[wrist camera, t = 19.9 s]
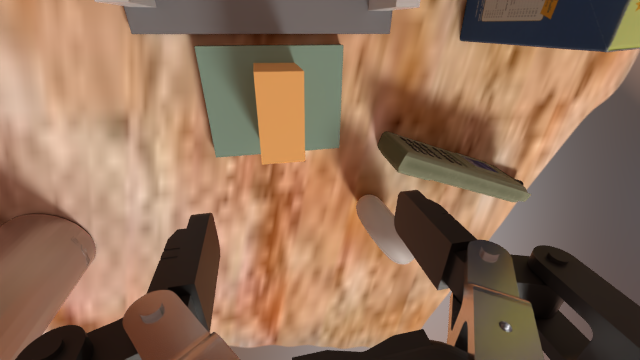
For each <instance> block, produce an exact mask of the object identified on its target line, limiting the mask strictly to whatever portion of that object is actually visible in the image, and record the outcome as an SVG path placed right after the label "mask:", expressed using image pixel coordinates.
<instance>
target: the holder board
mask: <svg viewBox="0 0 640 360" xmlns="http://www.w3.org/2000/svg"><path fill="white" fill-rule="evenodd" d="M94 1H95V2H101V3H107V4H114V5H121V6H124V9H125V12H126V16H127V19H128V23H129V26H130V30H131V33H132V34H390V27H391V18H392V10H400V9H409V8H419V5H420V0H94Z"/></svg>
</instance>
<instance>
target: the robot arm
mask: <svg viewBox="0 0 640 360" xmlns="http://www.w3.org/2000/svg"><path fill="white" fill-rule="evenodd" d="M394 226H395V230H396V232H397V234H398V235H399V237H400V238H401V239H402V241H403V242H404V244H405V245H406V246H407V248H408V249H409V251H410V252H411V254H412V255H413V256H414V258H415V259H416V261H417V262H418V263H419V265H420V266H421V268H422V269H423V270H424V272H425V273H426V275H427V276H428V278H429V279H430V280H431V282H432V283H433V285H434V286H435V287H436V289H437V290H442V289H447V288H450V290H451V291H452V294H451V296H450V308H449V324H448V338H447V344H446V343H443V342H439V341H434V340H429V338H428V337H427V335H426V333H425V331H424V330H423V329H421V330H417V331H412V332H408V333H403V334H398V335H394V336H392V337H390V338H388V339H386V340H385V341H383V342H381V343H379V344H378V345H376V346H374V347H372V348H370V349H369V350H367V351H364V352H351V351H331V350H325V351H321V352H316V353H312V354H307V355H303V356H298V357H294V358H292V360H544V356H543V351H544V353H546V355H547V356H548V357H549V358H550V360H640V306H639V305H637V304H636V303H635V302H633V301H632V300H631V299H629V298H628V297H627V296H625V295H624V294H623V293H621V292H620V291H619V290H617V289H616V288H615V287H613V286H612V285H611V284H610V283H608V282H607V281H606V280H604V279H603V278H602V277H600V276H599V275H598V274H596V273H595V272H594V271H592V270H591V269H590V268H588V267H587V266H586V265H584V264H583V263H582V262H580V261H579V260H578V259H576V258H575V257H574V256H572V255H571V254H569V253H567V252H565V251H563V250H561V249H558V248H555V247H551V246H537V247H535V248H534V250H533V251H532V253H531V256H520V255H510V254H509V253H508V251H506V250H505V249H504V248H503V247H501V246H499V245H498V244H495V243H493V242H490V241H486V240H477V239H476V238H475V237H474V236H473V235H472V234H471V233H470V232H468V231H467V230H466V229H465V228H464V227H463V226H462V225H461V224H460V223H459V222H458V221H457V220H455V219H454V217H453V216H451V215H450V214H448V212H447V211H446V210H445V209H444V208H443V207H442V206H441V205H439V204H437V203H435V202H434V201H432V200H430V199H429V200H428V199H427V198H426V197H425V196H424V195H423V194H422V193H421V192H420V191H418V190H412V191H403V192H400V193H399V195H398V200H397V206H396V212H395V218H394ZM95 254H96V247H95V244H94V241H93V240H92V238H91V237H90V235H89V234H88V233H87V232H86V231H85V230H84V229H82V228H81V227H79V226H78V225H76V224H75V223H73V222H70V221H68V220H66V219H63V218H60V217H57V216H52V215H46V214H29V215H22V216H19V217H15V218H13V219H11V220H9V221H7V222H6V223H5V224H3V225H2V226H1V227H0V360H240V359H239V357H238V356H237V355H236V354H235V353H234V352H233V351H232V349H231V348H230V347H229V346H228V345H227V344H226V342H225V341H224V340H223V339H222V338H221V337H220V336H219V335H218V334H217V333H215V332H213V333H212V334H210V326H211V319H212V311H213V304H214V297H215V290H216V282H217V275H218V268H219V261H220V246H219V240H218V236H217V231H216V227H215V222H214V218H213V214H212V213H205V214H197V215H191V217H190V219H189V223H188V226H187V229H179V230H177V231H176V232H175V233H174V234H173V235H172V236H171V237H170V238H169V239H168V241H167V243H166V246H165V248H164V252H163V253H162V256H161V261H159V264H158V266H157V269H156V271H155V274H154V276H153V279H152V281H151V284H150V286H149V289H148V291H147V294H146V295H144V296H142V297H141V298H139V299H138V300H136V301H135V302H134V303H133V304H132V305H131V306H130V307H129V308H128V310H127V311H126V313H125V315H124V317H123V318H121V319H119V320H117V321H115V322H113V323H110V324H108V325H106V326H103V327H101V328H98V329H96V330H93V331H91V332H89V333H86V332H85V331H84V329H83V328H81V327H80V326H76V325H67V326H62V327H58V328H56V329H53V330H51V331H49V332H47V333H45V334H43V333H44V331H45V330H46V328H47V327H48V325H49V324H50V322H51V321H52V319H53V318H54V317H55V315H56V314H57V312H58V311H59V309H60V308H61V306H62V305H63V303H64V302H65V300H66V299H67V297H68V296H69V295H70V293H71V292H72V290H73V289H74V287H75V286H76V284H77V283H78V281H79V280H80V278H81V277H82V275H83V274H84V272H85V271H86V270H87V268H88V267H89V265H90V264H91V262H92V261H93V259H94V257H95ZM564 301H565V302H566V303H567V304H568V305H569V306H570V307H572V308H573V309H574V310H575V311H576V312H577V313H578V314H579V315H580V316H581V317H582V318H583V319H584V320H585V321H586V322H587V323H588V324H589V325H590V327H591V329H592V332H593V338H592V340H591V341H589V340H588V339H587V338H586V337H585V336H584V335H583V334H582V333H581V332H580V331H579V330H578V329H577V328H576V327H575V326H574V325H573V324H572V323H571V322H570V321H569V320H568V319H567V318H566V317H565V316H564V315H563V314H562V313H561V312H560V311H559V310H558V309H559V308H560V306H561V305H562V303H563V302H564ZM42 334H43V335H42ZM542 350H543V351H542Z"/></svg>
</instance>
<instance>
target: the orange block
mask: <svg viewBox="0 0 640 360" xmlns="http://www.w3.org/2000/svg"><path fill="white" fill-rule="evenodd" d="M253 73H254V84H255V95H256V105H257V116H258V126H259V137H260V148H261V158H262V164H275V163H289V162H302V161H305V107H304V71H303V70H302V69H301V68H300V67H299V66H298V65H297V64H296V63H253Z"/></svg>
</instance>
